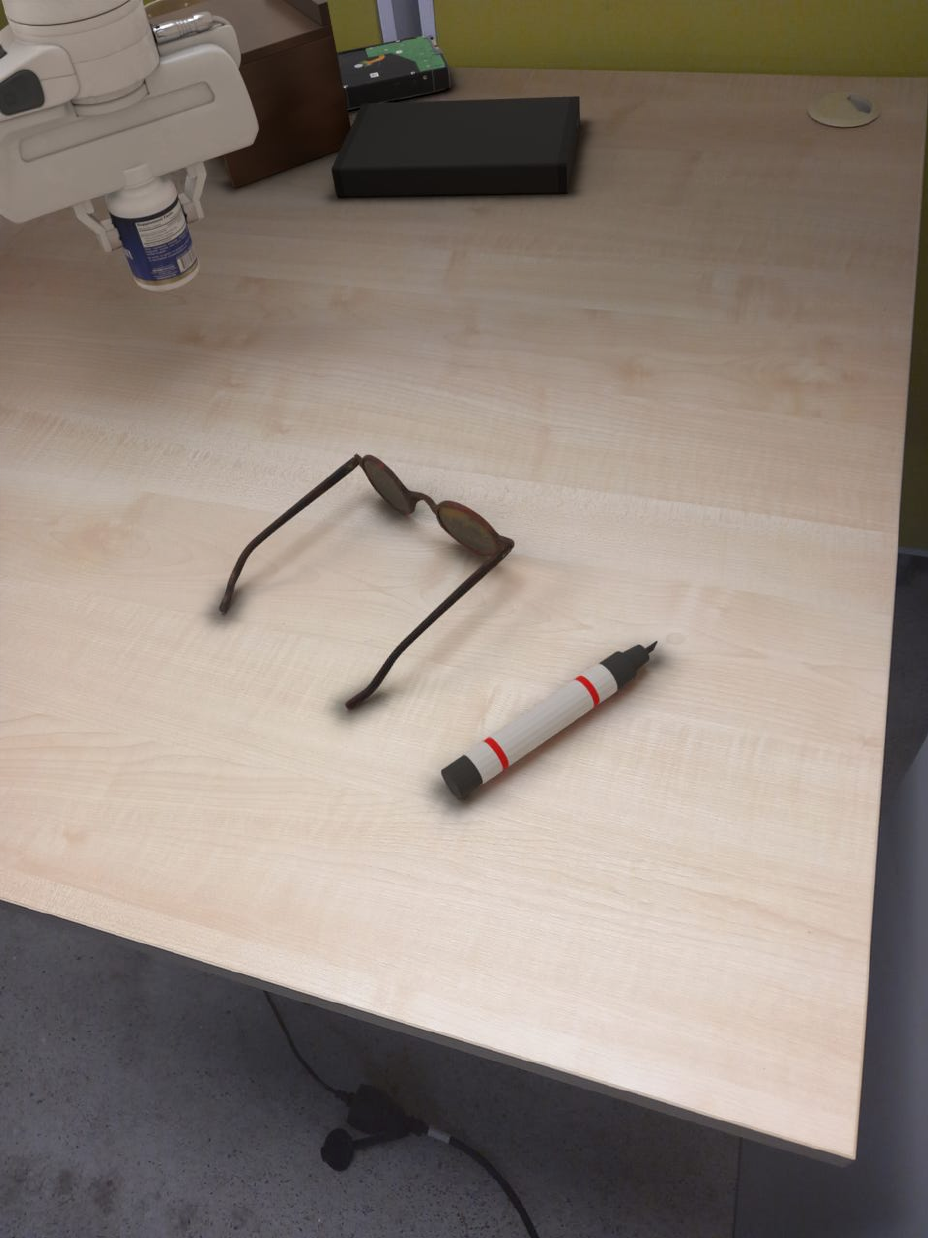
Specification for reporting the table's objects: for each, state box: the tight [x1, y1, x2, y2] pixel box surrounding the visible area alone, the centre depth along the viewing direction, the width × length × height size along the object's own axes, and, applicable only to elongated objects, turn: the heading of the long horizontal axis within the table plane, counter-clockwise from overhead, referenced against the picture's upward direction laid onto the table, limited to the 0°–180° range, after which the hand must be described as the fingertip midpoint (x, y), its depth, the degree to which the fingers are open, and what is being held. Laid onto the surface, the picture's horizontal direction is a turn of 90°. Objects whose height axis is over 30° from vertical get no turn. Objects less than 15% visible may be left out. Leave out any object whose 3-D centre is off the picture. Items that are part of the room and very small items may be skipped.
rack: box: [148, 0, 352, 189], centre depth 107 cm, size 14×16×14 cm
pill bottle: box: [104, 163, 200, 292], centre depth 80 cm, size 5×5×10 cm
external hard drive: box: [331, 95, 581, 198], centre depth 104 cm, size 14×23×3 cm, turn 81°
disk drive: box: [337, 34, 452, 111], centre depth 118 cm, size 10×3×15 cm
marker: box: [440, 640, 659, 800], centre depth 59 cm, size 15×2×2 cm, turn 126°
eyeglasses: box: [218, 452, 516, 710], centre depth 66 cm, size 15×15×5 cm
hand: (152, 232), depth 81 cm, fingers closed on pill bottle, 5 cm apart
